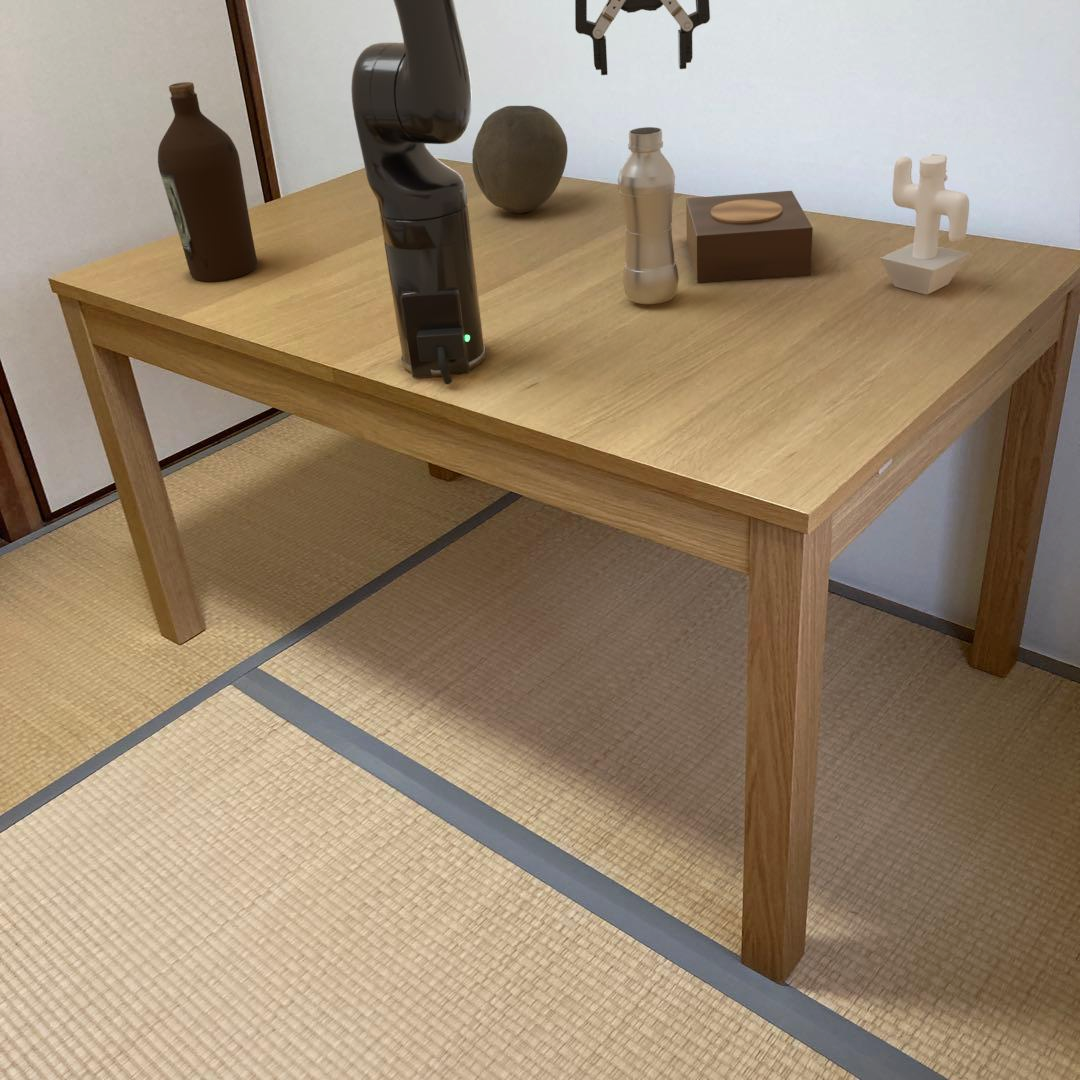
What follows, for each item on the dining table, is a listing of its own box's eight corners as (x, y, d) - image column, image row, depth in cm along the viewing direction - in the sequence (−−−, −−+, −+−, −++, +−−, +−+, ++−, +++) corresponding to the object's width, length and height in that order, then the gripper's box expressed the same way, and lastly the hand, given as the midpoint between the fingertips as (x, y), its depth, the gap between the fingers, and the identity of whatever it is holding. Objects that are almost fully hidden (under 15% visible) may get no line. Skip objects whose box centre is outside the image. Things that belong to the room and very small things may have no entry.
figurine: (938, 303, 132) (953, 170, 124) (869, 285, 139) (879, 158, 131) (974, 285, 136) (990, 155, 128) (905, 268, 142) (916, 144, 134)
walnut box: (810, 275, 143) (813, 225, 140) (697, 283, 144) (696, 233, 141) (790, 234, 157) (792, 188, 153) (686, 242, 158) (686, 195, 154)
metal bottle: (676, 310, 137) (672, 137, 126) (619, 310, 138) (611, 139, 128) (681, 290, 142) (678, 122, 132) (627, 291, 144) (619, 125, 133)
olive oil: (257, 253, 169) (217, 72, 156) (267, 274, 160) (226, 85, 147) (183, 266, 166) (136, 84, 153) (189, 289, 158) (141, 97, 145)
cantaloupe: (556, 223, 169) (548, 117, 161) (465, 223, 173) (453, 119, 165) (580, 195, 181) (574, 95, 173) (495, 195, 184) (485, 97, 176)
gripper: (568, -89, 115) (578, 83, 124) (712, -102, 114) (712, 72, 123) (568, -95, 121) (578, 69, 130) (704, -107, 120) (705, 59, 129)
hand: (643, 70), depth 126 cm, fingers open, 8 cm apart
